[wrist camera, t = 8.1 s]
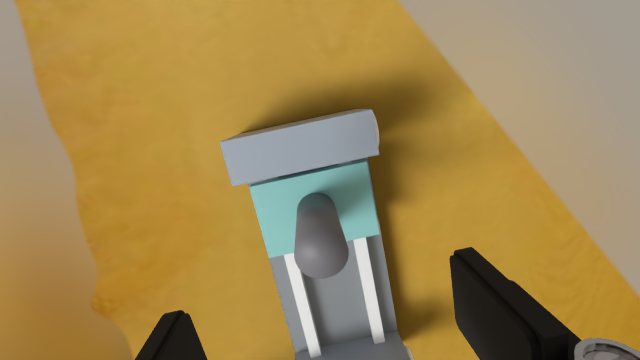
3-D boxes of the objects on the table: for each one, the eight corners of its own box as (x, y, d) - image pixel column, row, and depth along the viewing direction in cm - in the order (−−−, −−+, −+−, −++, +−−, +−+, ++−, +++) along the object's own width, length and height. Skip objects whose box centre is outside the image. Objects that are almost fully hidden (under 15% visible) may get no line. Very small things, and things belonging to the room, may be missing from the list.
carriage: (251, 183, 24) (225, 221, 16) (364, 159, 24) (393, 185, 16) (270, 252, 25) (255, 317, 17) (376, 229, 25) (409, 284, 17)
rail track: (238, 134, 25) (219, 142, 19) (360, 107, 25) (378, 107, 19) (302, 365, 31) (301, 424, 25) (401, 343, 31) (424, 398, 25)
